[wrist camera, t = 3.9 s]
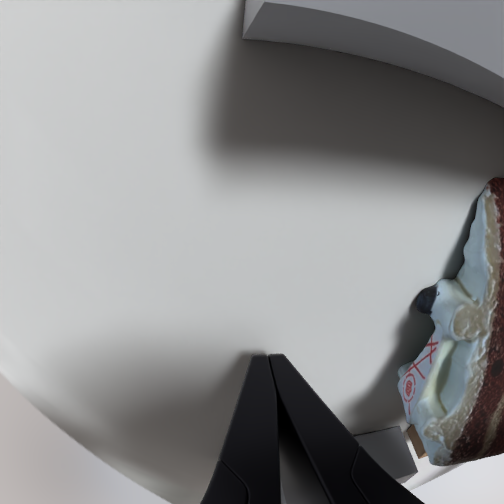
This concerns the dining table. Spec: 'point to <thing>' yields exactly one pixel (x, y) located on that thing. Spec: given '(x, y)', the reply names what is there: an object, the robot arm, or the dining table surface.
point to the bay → (403, 55)
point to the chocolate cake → (463, 349)
